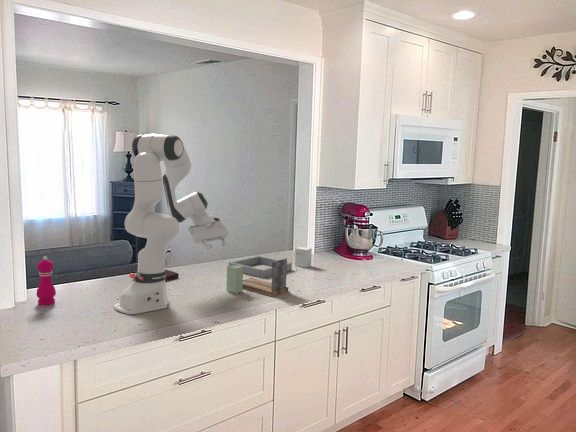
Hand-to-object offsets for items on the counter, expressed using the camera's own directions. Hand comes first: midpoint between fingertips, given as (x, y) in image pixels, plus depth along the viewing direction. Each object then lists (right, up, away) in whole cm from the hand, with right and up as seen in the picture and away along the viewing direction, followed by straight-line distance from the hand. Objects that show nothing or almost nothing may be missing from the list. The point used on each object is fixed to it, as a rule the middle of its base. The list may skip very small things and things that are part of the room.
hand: (217, 246), depth 239 cm
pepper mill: (-66, -22, -33) cm, 77 cm away
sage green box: (+9, -21, -5) cm, 23 cm away
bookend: (+21, -20, +1) cm, 29 cm away
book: (-32, -18, +10) cm, 38 cm away
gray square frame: (+18, -15, +38) cm, 45 cm away
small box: (+42, -14, +51) cm, 68 cm away
